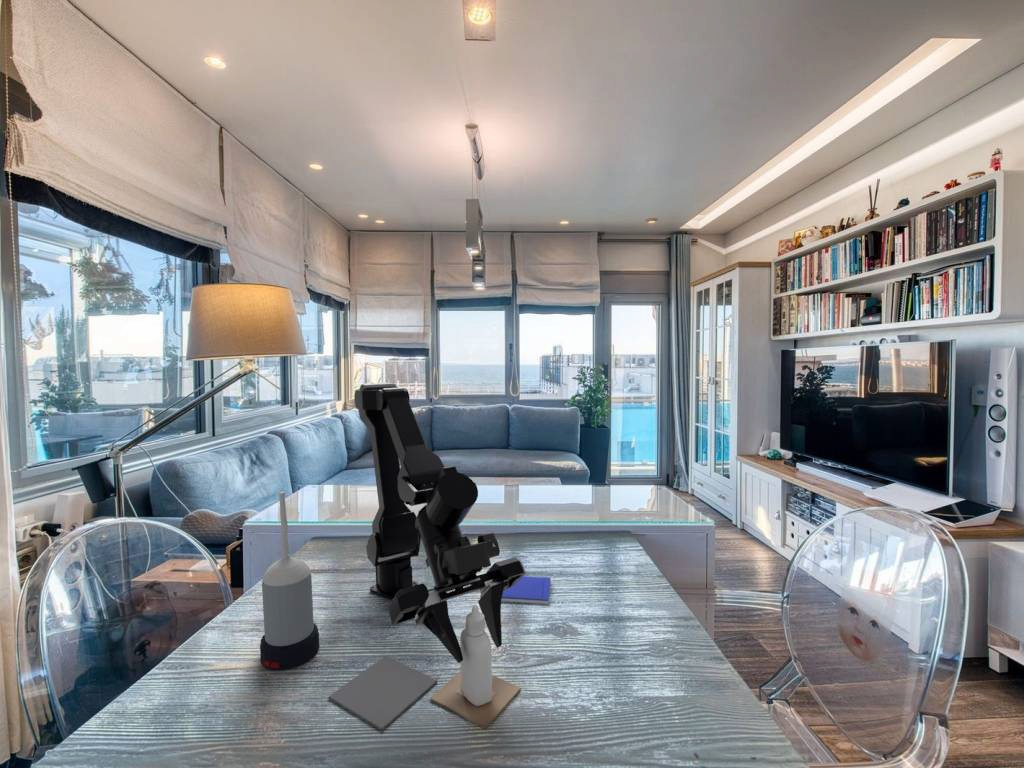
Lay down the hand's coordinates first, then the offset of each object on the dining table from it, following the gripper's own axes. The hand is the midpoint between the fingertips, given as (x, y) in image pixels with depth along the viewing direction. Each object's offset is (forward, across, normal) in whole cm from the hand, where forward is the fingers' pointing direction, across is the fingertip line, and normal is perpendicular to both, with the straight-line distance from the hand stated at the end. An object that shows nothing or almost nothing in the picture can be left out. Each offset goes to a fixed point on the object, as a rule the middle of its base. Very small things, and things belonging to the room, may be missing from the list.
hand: (480, 653), depth 64 cm
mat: (-2, -10, +11) cm, 15 cm away
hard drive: (-10, +19, +20) cm, 30 cm away
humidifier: (-12, -20, +22) cm, 32 cm away
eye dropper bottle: (+4, 0, +6) cm, 7 cm away
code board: (+4, 0, +6) cm, 7 cm away
